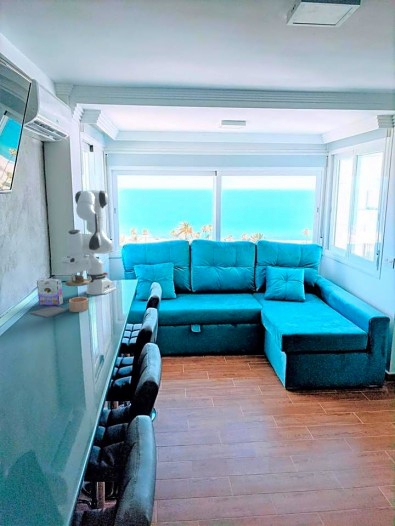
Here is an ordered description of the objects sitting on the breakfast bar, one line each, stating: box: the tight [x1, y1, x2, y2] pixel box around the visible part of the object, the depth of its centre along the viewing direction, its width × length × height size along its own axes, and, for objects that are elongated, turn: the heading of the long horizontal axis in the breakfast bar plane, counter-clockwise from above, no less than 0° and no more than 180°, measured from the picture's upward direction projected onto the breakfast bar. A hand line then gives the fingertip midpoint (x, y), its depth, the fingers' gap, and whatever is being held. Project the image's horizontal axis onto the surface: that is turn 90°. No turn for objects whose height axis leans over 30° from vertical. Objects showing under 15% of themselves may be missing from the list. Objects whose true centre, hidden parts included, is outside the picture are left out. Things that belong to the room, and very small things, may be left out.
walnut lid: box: [65, 274, 90, 287], centre depth 223 cm, size 14×14×5 cm
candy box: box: [36, 277, 64, 307], centre depth 234 cm, size 14×6×16 cm, turn 84°
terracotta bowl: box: [68, 296, 89, 313], centre depth 226 cm, size 11×11×6 cm
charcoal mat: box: [30, 305, 69, 319], centre depth 221 cm, size 15×15×1 cm
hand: (77, 279), depth 223 cm, fingers closed on walnut lid, 3 cm apart
